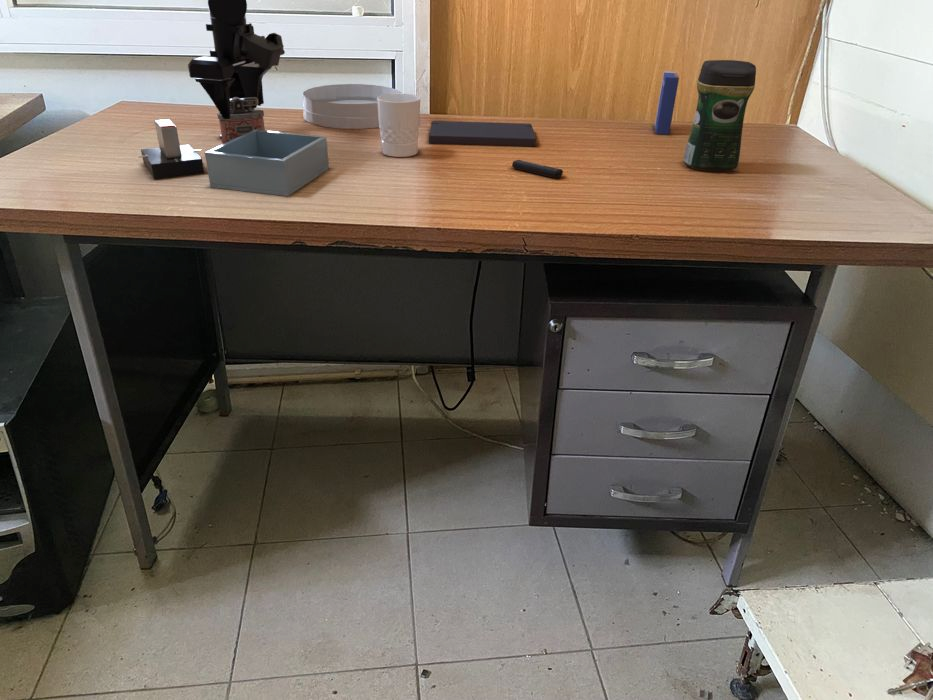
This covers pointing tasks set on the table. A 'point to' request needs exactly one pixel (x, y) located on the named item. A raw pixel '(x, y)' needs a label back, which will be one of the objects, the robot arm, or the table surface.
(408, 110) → the white cup
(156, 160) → the panel
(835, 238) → the table surface
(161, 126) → the red-capped metal block
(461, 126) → the notebook
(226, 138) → the lighter
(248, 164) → the basin
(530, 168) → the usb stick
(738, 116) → the coffee jar
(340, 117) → the dish
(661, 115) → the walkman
